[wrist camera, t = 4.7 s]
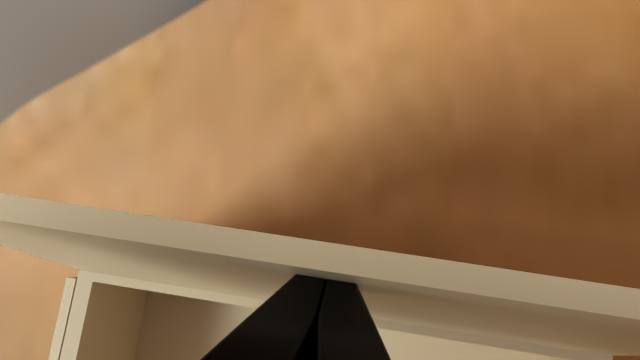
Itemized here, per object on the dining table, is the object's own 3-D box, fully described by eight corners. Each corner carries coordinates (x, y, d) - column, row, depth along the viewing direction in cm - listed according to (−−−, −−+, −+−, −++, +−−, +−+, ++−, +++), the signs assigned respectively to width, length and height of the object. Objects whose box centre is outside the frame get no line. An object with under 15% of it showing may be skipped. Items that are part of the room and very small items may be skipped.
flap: (605, 355, 14) (917, 362, 6) (84, 270, 15) (-169, 193, 8) (605, 337, 14) (909, 324, 7) (88, 255, 15) (-157, 164, 8)
